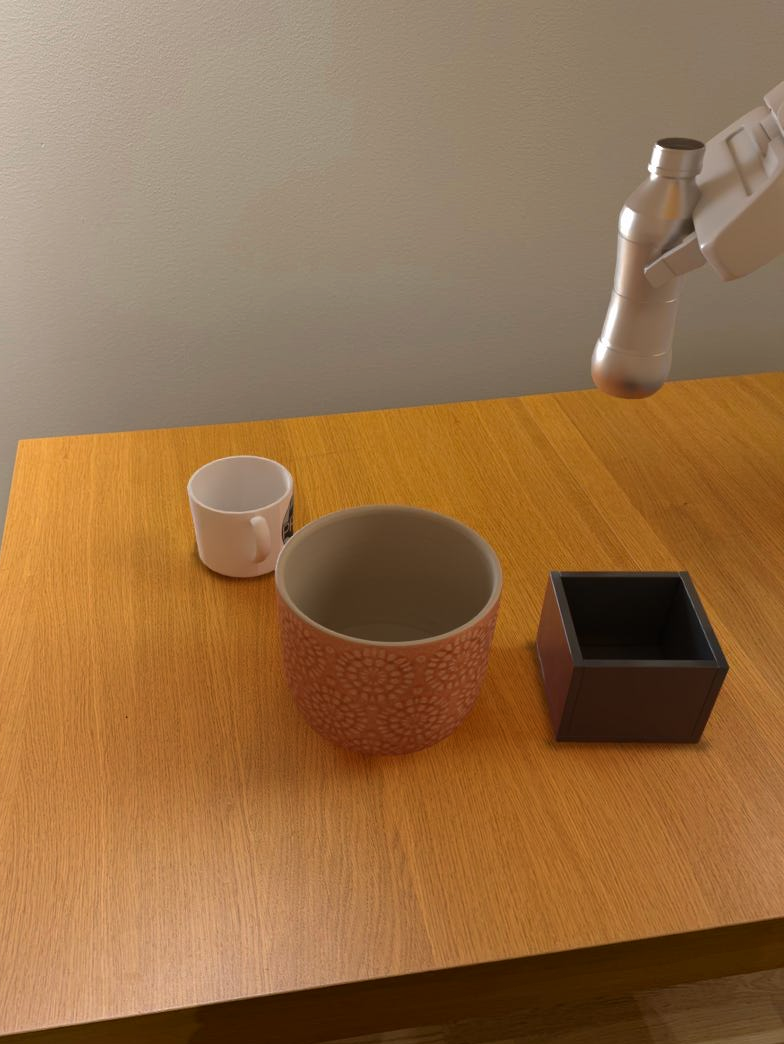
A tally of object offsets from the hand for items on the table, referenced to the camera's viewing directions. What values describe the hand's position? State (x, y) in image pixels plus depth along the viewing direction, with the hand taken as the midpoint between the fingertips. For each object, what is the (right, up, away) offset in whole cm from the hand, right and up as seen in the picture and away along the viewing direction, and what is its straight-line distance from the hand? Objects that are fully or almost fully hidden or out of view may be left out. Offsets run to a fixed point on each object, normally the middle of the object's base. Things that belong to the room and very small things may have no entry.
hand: (645, 261), depth 74 cm
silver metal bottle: (+1, -9, +8) cm, 11 cm away
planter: (-21, -37, +5) cm, 42 cm away
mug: (-33, -22, +21) cm, 45 cm away
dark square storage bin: (-1, -35, +5) cm, 36 cm away
